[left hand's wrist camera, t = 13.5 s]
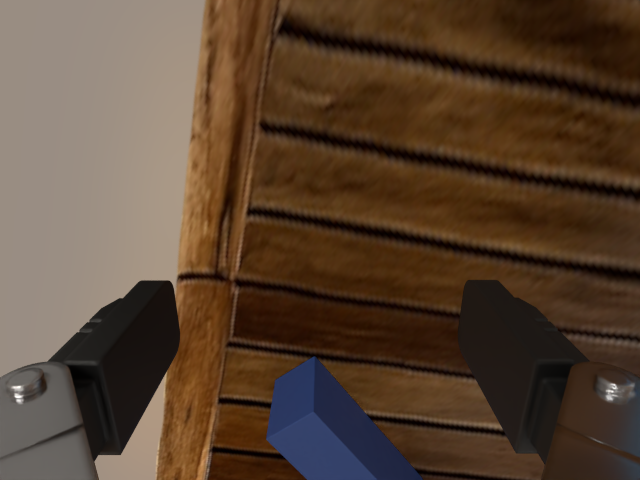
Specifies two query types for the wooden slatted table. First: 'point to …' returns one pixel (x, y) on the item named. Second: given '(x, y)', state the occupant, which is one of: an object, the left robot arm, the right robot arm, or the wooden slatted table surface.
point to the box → (329, 430)
